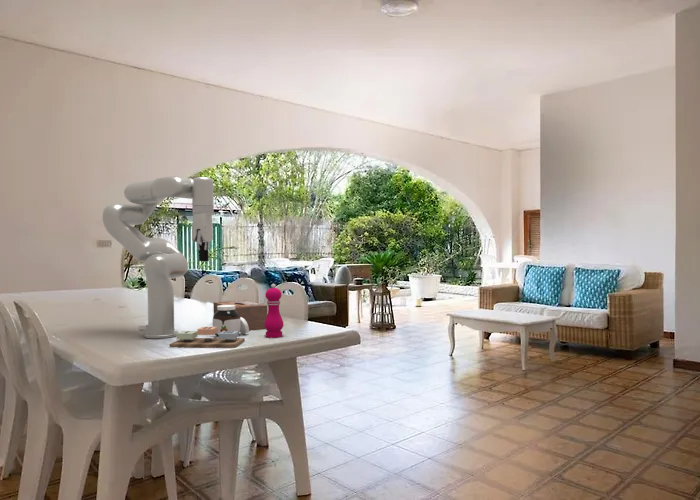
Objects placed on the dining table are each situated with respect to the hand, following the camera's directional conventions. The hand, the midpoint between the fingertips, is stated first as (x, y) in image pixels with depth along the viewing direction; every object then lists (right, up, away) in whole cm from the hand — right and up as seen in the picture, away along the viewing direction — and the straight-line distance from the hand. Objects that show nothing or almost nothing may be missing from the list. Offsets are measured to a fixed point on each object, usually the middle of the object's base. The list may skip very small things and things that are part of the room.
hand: (203, 261), depth 202 cm
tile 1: (-4, -27, -8) cm, 28 cm away
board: (+4, -29, -8) cm, 31 cm away
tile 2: (+4, -25, -8) cm, 27 cm away
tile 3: (+11, -27, -9) cm, 30 cm away
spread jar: (+8, -29, +10) cm, 32 cm away
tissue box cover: (+7, -29, +32) cm, 44 cm away
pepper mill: (+25, -29, +7) cm, 39 cm away
